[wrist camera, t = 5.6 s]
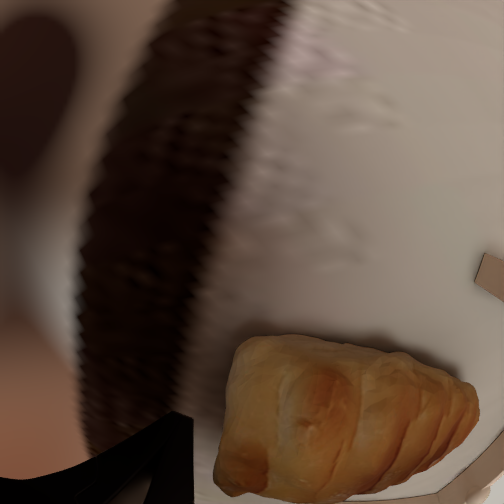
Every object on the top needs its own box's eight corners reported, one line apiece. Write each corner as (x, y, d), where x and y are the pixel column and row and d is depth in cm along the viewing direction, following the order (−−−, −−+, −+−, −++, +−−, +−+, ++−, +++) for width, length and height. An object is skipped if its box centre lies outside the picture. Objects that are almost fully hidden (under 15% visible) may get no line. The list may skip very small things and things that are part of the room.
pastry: (490, 334, 7) (543, 392, 3) (420, 451, 8) (436, 510, 5) (233, 313, 8) (186, 402, 4) (225, 444, 10) (201, 513, 6)
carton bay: (440, 497, 9) (447, 528, 6) (305, 505, 10) (301, 548, 7) (580, 312, 5) (612, 335, 2) (484, 252, 6) (554, 287, 3)
